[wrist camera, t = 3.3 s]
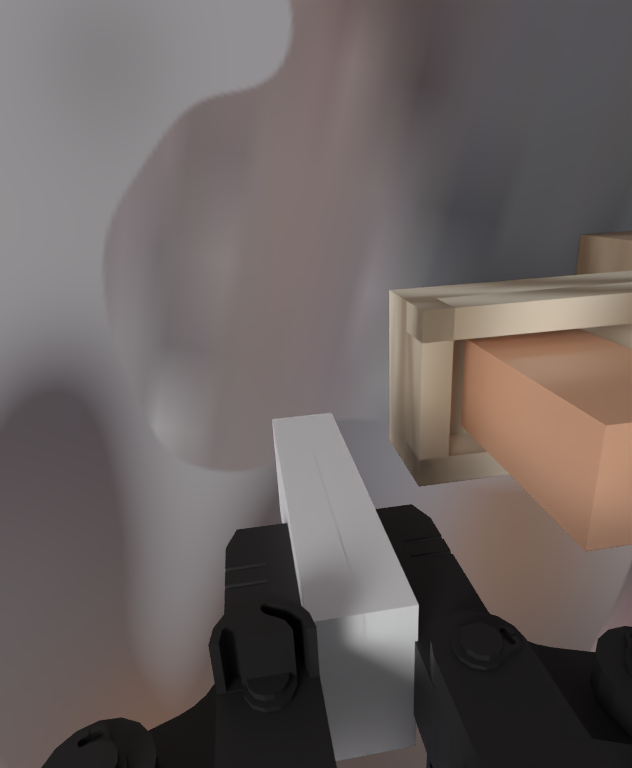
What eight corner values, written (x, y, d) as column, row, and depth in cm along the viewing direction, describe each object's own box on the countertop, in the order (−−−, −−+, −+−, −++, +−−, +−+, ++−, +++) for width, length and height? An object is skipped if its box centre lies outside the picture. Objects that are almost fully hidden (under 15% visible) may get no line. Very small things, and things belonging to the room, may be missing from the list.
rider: (460, 424, 18) (615, 581, 11) (464, 338, 17) (641, 447, 10) (564, 412, 19) (781, 555, 11) (575, 327, 18) (824, 424, 10)
